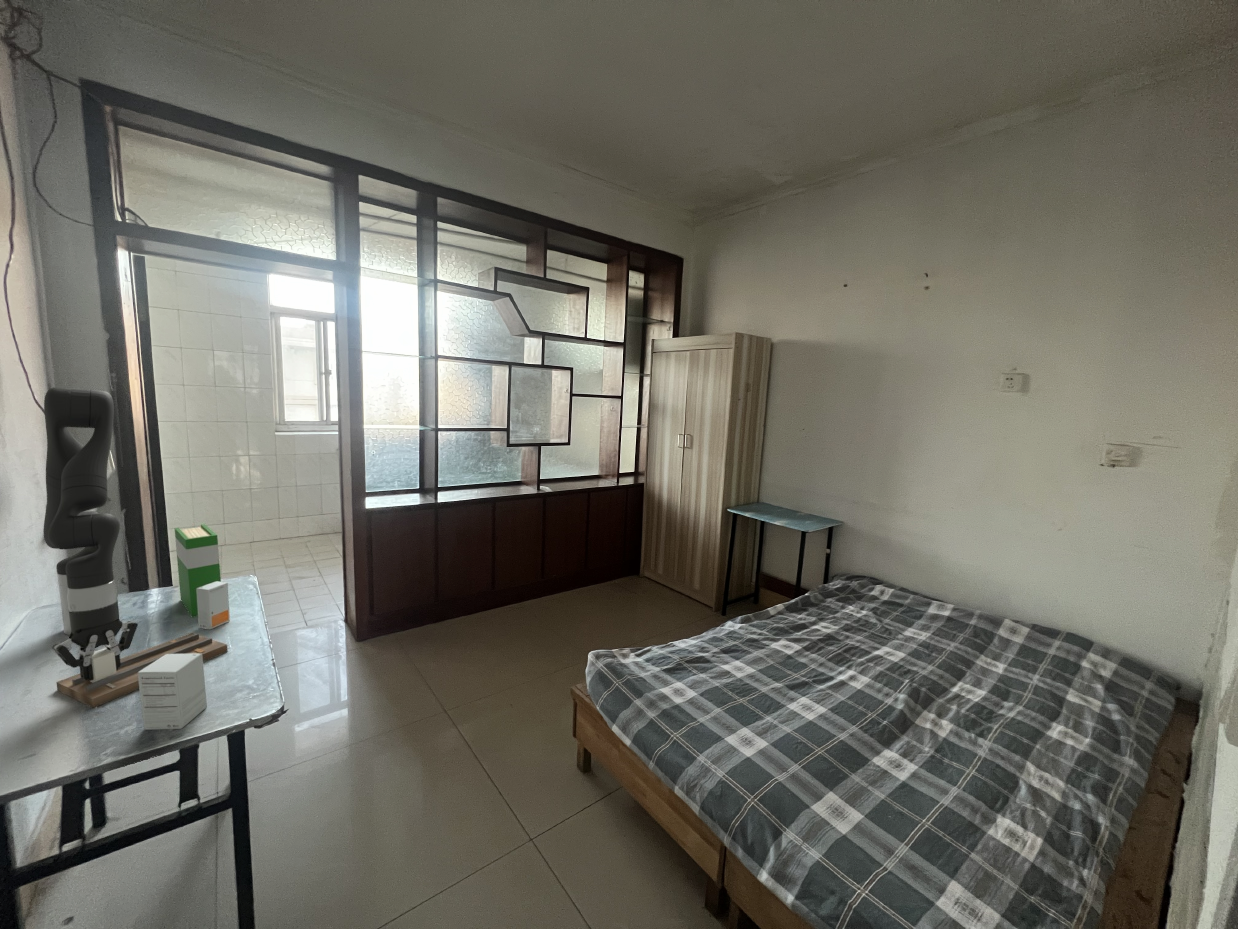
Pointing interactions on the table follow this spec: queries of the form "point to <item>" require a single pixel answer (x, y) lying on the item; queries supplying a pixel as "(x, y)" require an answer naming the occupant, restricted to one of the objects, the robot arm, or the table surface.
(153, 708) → the supplement box
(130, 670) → the fader console
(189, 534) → the hardback book
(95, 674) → the fader tab
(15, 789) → the table surface
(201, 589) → the skincare box
